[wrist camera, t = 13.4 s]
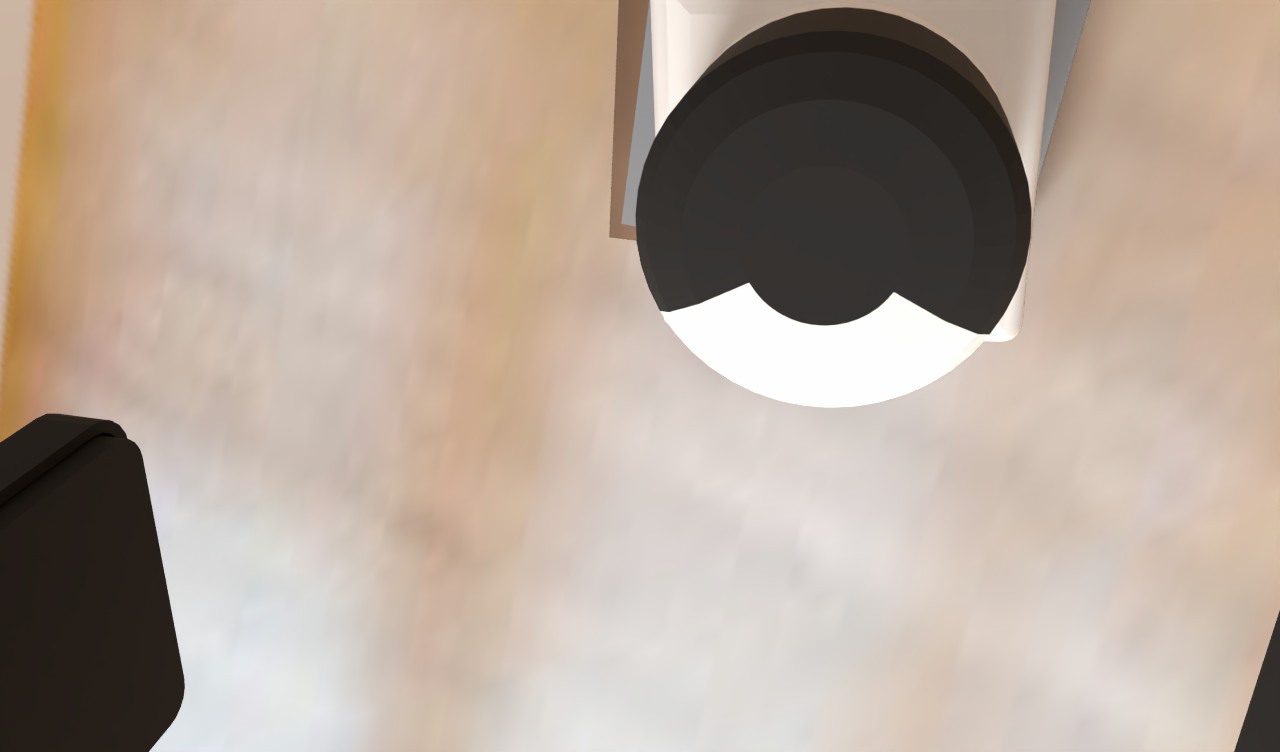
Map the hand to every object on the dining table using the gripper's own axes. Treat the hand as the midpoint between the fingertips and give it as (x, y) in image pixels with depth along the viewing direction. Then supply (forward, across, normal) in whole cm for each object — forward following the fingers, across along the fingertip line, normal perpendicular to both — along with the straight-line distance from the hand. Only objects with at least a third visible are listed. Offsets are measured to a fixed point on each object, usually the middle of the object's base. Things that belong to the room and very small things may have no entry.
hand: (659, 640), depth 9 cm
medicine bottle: (+21, -1, 0) cm, 21 cm away
